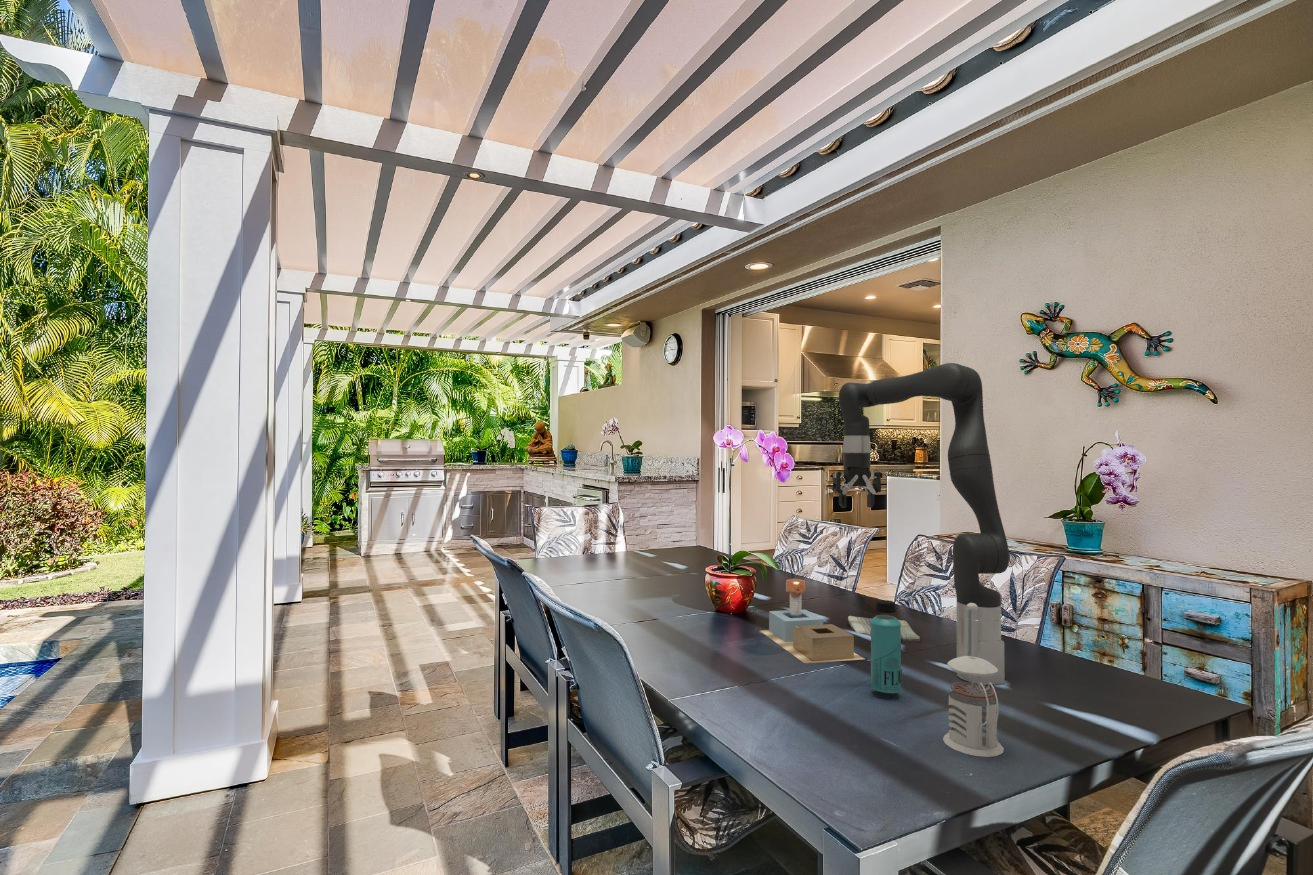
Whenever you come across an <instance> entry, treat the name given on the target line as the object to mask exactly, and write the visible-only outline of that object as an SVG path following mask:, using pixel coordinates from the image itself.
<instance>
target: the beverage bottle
mask: <svg viewBox="0 0 1313 875" xmlns="http://www.w3.org/2000/svg"><path fill="white" fill-rule="evenodd" d="M874 608H875V611H876V612H878V613H882V614H877V615H875V616H874V617H872V618H873V619H872V620H871V621H870V623H871V636H870V662H869V665H870V670H869V673H870V678H869V679H870V685H871V686H870V687H871V688H872V689H873V690H874V691H877V692H879V693H883V694H884V693H885V694H896V693H897V694H898V693H899V692H901V690H902V687H903V686H902V684H903V683H902V678H903V669H902V645H903V641H901V636H902V635H901V623H900V621H899V620H900V619H898V618H897V617H895V616H892V615H888V614H894V613H896V612H897V611H896V610H897V608H896V602H894V601H893V600H888V599H879V600H876V601H875V607H874Z"/></svg>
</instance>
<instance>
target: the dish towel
mask: <svg viewBox="0 0 1313 875" xmlns="http://www.w3.org/2000/svg"><path fill="white" fill-rule="evenodd" d="M873 618H874V617H872V618H869V617H862V616H853V615H849V616H848V617H847V620H848V623H849V626H850V628H851V629H853V630H854V631H855V633H856V634H865V635H867V636H869V637H871V623H870V621H871V620H872V619H873ZM898 620H899V621H900V623H901V635H902V636H901V641H902V642H915V641H920V642H921V639H920V638H921V637H920V636H919V635H917V633H916V632H915V631H914V630H913V629H912V627H911V626H910V624H909V623H908V622H907V621H906V620H901V619H898Z"/></svg>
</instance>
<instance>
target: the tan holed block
mask: <svg viewBox="0 0 1313 875" xmlns="http://www.w3.org/2000/svg"><path fill="white" fill-rule="evenodd" d="M793 648H794V649H796V650H797V651H798V652H800V653H801V654H803V655H804V656H806V657H807V658H808V659H810V660H811V661H823V660H838V659H852V658H854V653H855V636H854V635H853V634H851V633H850V632H847V631H846V630H844V629H843V628H840V627H839V626H836V625H835V624H831V623H827V624H825V623H824V624H823V625H807V626H793Z"/></svg>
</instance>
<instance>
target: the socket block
mask: <svg viewBox="0 0 1313 875" xmlns="http://www.w3.org/2000/svg"><path fill="white" fill-rule="evenodd" d="M768 617H769V618H768V624H769V625H768V630H769V631H770V632H771V633H773V634H774V635H776V636H777V637H778V638H780V639H781V640H783V641H784V642H793V626H807V625H824V619H823V618H822V617H820V616H818V615H817V614H814V613H813V612H811V611H809V610H807V609H802V618H790V609H789V610H771V611H770V610H769V611H768Z"/></svg>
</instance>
